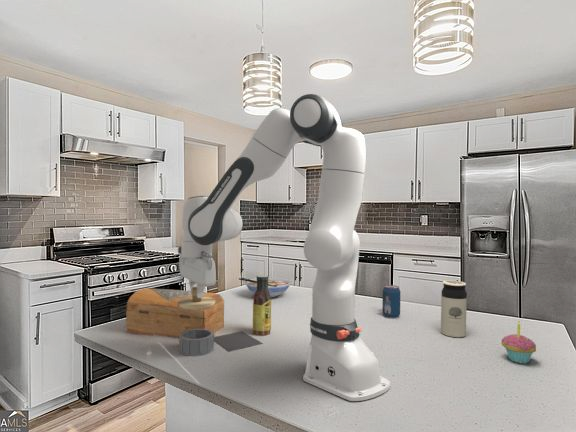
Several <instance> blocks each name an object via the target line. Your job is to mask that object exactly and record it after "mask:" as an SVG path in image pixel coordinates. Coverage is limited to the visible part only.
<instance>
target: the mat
mask: <svg viewBox="0 0 576 432" xmlns="http://www.w3.org/2000/svg"><path fill="white" fill-rule="evenodd" d="M214 343H215V344H216V345H218V346H220V347H221V348H222V349H224V350H225V351H226V352H228V353H231V352H234V351H239V350H243V349H246V348H251V347H255V346H259V345H263V344H264V343H263V342H262V341H260V340H258V339H256V338H255V337H253V336H251V335H249V333H246V332H245V331H243V330H241V331H236V332H232V333H227V334H226V333H225V334H222V335H218V336H214Z"/></svg>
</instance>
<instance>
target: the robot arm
mask: <svg viewBox="0 0 576 432" xmlns="http://www.w3.org/2000/svg"><path fill="white" fill-rule="evenodd" d="M300 142H303V143H304V144H309V145H311V146H312V145H313V146H316V147H321V148H322V152H323V159H322V167H321V174H320V175H321V176H320V183H319V190H318V198H317V203H316V207H315V211H314V213H313V216H312V220H311V223H310V228H309V230H308V231H309V232H308V234H307V237H306V239H305V240H304V243H303V255H304V258H305V259H306V261H307V262H308V264H309V265H311V267H313V268H316V269H317V270H316V275H315V280H314V283H313V286H312V299H311V300H312V301H311V302H312V303H311V305H312V306H311V307H312V308H311V310H312V311H311V312H312V313H311V315H312V316H311V317H310V322H309V328H310V329H309V330H310V333H311V337H310V341H309V345H308V349H307V356H306V357H307V358H306V366H305V369H304V370H305V371H304V372H305V373H304V374H303V378H302V380H303V381H304V382H306V383H308V384H310V385H312V386H315V387H316V388H319V389H321V390H324V391H326V392H328V393H330V394H333V395H335V396H337V397H340V398H342V399H344V400H346V401H349V402H360V401H366V400H369V399H370V400H371V399H373V398H376V397H379V396H381V395H383V394H385V393H386V392H387V391H388V390H389V389H390V388H391V382H390V380H388V379H387V378H385V377H383V376H382V375H381V368H380V362H379V360H378V358H377V357H376V356H375V354H374V352H373V351H371V349H370V348H369V347H368V346H367V344H366V343H365V342H364V341H363V339H362V338H361V337H360V335H361V334H360V332H363V326H359V327H358V324H357V323H358V322H357V320H356V318H355V308H356V306H355V302H356V297H355V296H356V283H357V276H358V270H359V269H358V267H359V258H360V257H359V256H360V247H361V246H360V245H361V240H360V237H359V234H358V232H357V231H356V230H355V225H356V221H357V218H358V214H359V211H360V208H361V205H362V197H363V189H364V181H365V175H366V174H365V173H366V166H367V165H366V164H367V162H366V161H367V155H366V154H367V150H366V149H367V147H366V139H365V137H364V134H363V133H361V132H360V131H358V130H356V129H354V128H350V127H344V124H343V119H342V117H341V116H340V114H339V113H338V112H337V110H336V108H335V106H334V105H332V104H331V103H330V102H329V101H328V100H327V99H326V98H324V96H321V95H319V94H315V93H307V94H303V95H301V96H300V97H299V98H297V99H295V101H294V102H293V103H292V106H291V108H290V110H289V109H286V108H282V107H275V108H274V109H272V110H271V111H270V112H269V113H268V114H267V115H266V117H265V118H264V119H263V121H262V122H261V123H260V124H259V126H258V127H257V129H256V130H255V132H254V133H253V135H252V136H251V138H250V140H249V141H248V143H247V145H246V146H245V148H244V149H243V150H242V152H241V154H240V155H239V156H238V157H237V158H236V159H235V160H234V161H233V163H232V164H231V165H230V166H229V167H228V169H227V170H226V172H225V173H224V174H223V175H222V177H221V178H220V180H219V182H217V184H216V186H215V187H214V188H213V189H212V191H211V192H210V194H209V195H197V196H192V197H191V196H190V197H188V198H187V199H186V200H185V201H184V204H183V207H182V221H181V222H182V223H181V224H182V225H181V227H182V229H183V230H182V231H183V235H182V238H181V239H182V240H181V244H180V246H178V248H177V254H178V255H179V257H178V258H179V260H178V263H179V273H180V276H181V277H183V278H185V279H186V280H188V283H189V286H190V291H191V294H192V288H193V287H197V291H196V297H197V298H202V297H203V292H204V291H205V289H206V287H214V286H215V285H216V282H217V270H216V268H217V267H216V262H215V260H214V258H212V256H213V244H215V243H219V242H224V241H229V240H233V239H235V238H238V236H239V235H240V234H241V232H242V231H243V227H244V226H243V225H244V223H243V221H244V220H243V218H242V215H241V214H240V212H239V211H237V210H236V209H234V208H232V207H233V205H234V203H235V202H236V201H237V199H238V198H239V196H240V195H241V194H242V192H244V190H245V189H247V188H248V187H250V186H251V185H253V184H255V183H258V182H260V181H263V180H266V179H269V178H271V177H273V176H274V175H275V174H276V173H277V172H278V171H279V169H281V167H282V166H283V164H284V163H285V161H286V159H287V158H288V156H289V154H290V153H291V152H292V149H293V148H294V147H295V146H296V145H297V144H298V143H300ZM361 329H362V330H361Z"/></svg>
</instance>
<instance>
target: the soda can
mask: <svg viewBox="0 0 576 432" xmlns="http://www.w3.org/2000/svg"><path fill="white" fill-rule="evenodd" d="M381 312H382V316H384V317H385V318H386V319H387V318H389V319H397V318H399V317H400V315H401V289H400V286H398V285H393V284H385V285H384V286H383V289H382V310H381Z"/></svg>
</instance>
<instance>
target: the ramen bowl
mask: <svg viewBox="0 0 576 432" xmlns="http://www.w3.org/2000/svg"><path fill="white" fill-rule="evenodd" d="M238 280H239V281H243V282H244V284H245V286H246V287H247V289H248V290H249V291H250V293H252V294H253V295H254V293H255V292H256V290H257V277H252V278H244V277H239V278H238ZM291 284H292V280H290V279H288V278H284V277H276V276H275V277H272V276H268V290H269V294H270V296H271V299H273V298H276V297H277V296H279V295H283V294H284V293H285V292H287V290H288V289H289V288H290V285H291Z"/></svg>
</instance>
